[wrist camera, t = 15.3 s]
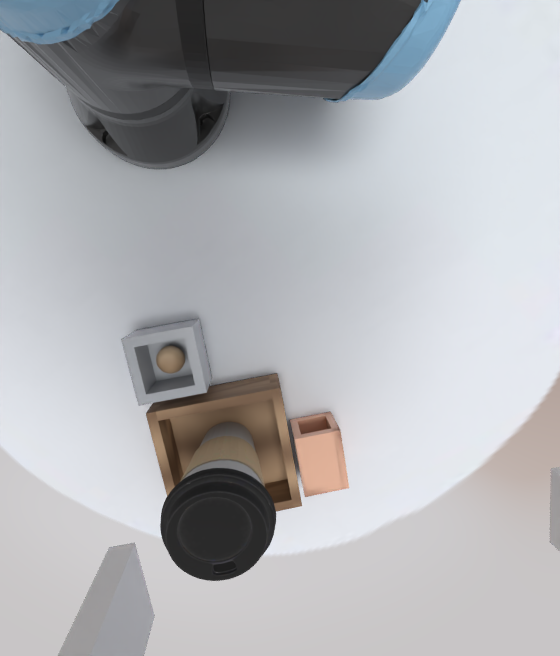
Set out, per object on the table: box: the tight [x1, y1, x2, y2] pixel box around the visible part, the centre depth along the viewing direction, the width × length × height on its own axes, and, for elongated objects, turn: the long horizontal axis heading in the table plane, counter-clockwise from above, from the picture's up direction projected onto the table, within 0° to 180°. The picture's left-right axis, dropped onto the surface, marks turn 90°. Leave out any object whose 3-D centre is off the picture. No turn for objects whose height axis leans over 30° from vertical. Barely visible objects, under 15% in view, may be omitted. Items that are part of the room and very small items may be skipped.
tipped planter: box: [290, 412, 349, 497], centre depth 43 cm, size 7×5×5 cm
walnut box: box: [146, 374, 302, 511], centre depth 42 cm, size 14×14×5 cm
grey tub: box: [121, 319, 212, 405], centre depth 40 cm, size 7×7×5 cm
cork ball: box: [156, 345, 185, 374], centre depth 40 cm, size 3×3×3 cm
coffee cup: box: [161, 422, 276, 581], centre depth 36 cm, size 9×9×15 cm
